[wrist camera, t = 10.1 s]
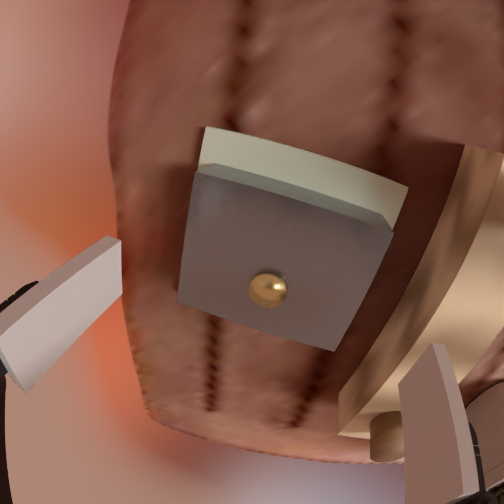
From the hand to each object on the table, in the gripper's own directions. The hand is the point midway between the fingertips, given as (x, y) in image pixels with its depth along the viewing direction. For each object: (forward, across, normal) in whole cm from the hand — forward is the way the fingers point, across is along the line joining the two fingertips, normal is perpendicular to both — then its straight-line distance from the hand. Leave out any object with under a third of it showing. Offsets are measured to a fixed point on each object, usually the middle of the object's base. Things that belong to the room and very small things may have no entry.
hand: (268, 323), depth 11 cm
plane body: (+8, +11, -2) cm, 14 cm away
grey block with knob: (+7, -1, -1) cm, 8 cm away
